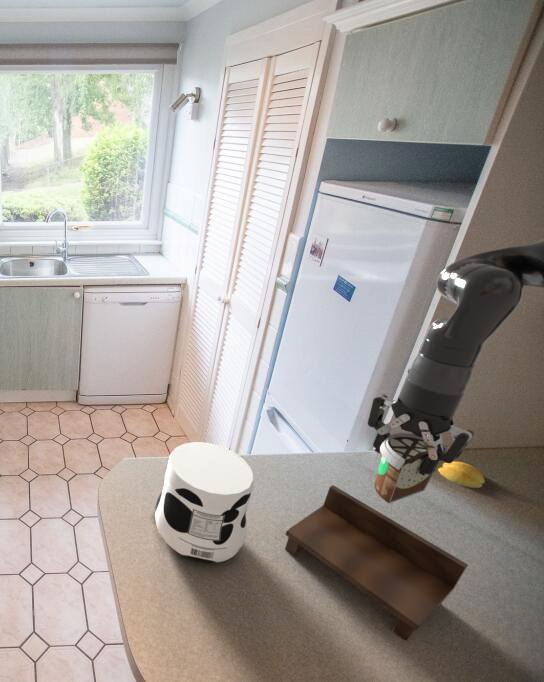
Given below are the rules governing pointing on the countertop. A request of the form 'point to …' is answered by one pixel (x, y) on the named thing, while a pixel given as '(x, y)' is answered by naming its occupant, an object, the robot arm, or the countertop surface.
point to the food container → (402, 467)
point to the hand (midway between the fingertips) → (400, 461)
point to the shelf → (378, 558)
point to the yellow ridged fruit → (462, 474)
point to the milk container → (204, 502)
